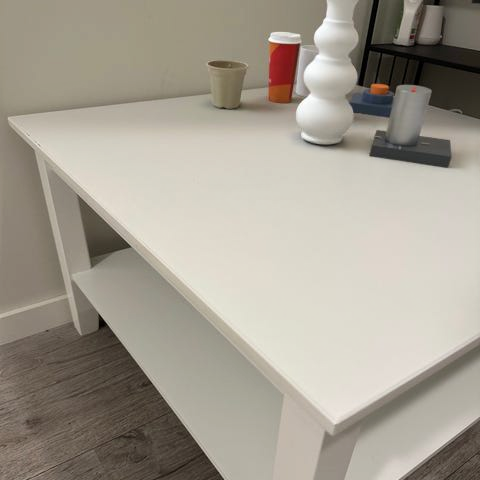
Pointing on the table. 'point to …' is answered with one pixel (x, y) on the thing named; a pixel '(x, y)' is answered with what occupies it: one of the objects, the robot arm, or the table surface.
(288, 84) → the paper cup
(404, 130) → the dial
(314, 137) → the vase
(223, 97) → the flower pot
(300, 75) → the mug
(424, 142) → the control panel
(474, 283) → the table surface
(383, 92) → the button
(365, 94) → the block
